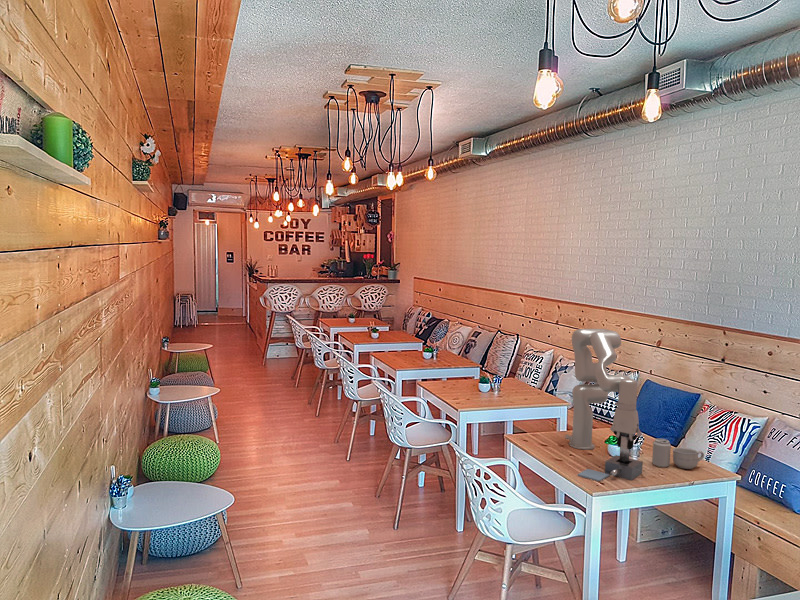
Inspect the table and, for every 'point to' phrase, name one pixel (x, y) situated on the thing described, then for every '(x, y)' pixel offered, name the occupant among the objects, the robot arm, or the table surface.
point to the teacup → (686, 457)
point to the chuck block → (623, 468)
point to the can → (661, 453)
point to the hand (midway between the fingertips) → (624, 447)
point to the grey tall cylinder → (624, 447)
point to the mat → (593, 475)
